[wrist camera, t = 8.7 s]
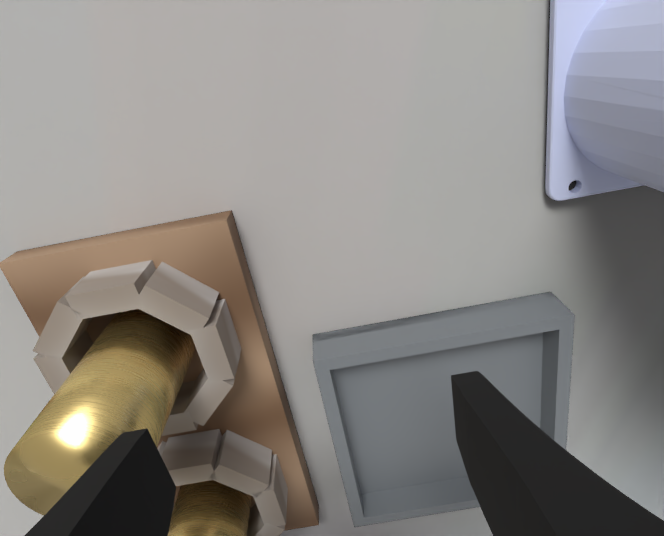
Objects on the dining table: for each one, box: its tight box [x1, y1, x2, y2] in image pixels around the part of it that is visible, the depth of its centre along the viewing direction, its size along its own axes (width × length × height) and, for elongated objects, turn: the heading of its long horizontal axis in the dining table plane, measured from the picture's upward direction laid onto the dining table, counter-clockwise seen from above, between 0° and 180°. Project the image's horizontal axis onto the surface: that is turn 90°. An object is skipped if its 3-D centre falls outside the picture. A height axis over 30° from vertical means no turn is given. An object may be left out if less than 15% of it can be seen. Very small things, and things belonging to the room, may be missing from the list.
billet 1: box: [4, 309, 196, 515], centre depth 16 cm, size 4×4×7 cm
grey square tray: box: [313, 292, 575, 527], centre depth 22 cm, size 11×11×2 cm
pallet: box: [0, 210, 319, 536], centre depth 20 cm, size 18×9×3 cm, turn 11°
